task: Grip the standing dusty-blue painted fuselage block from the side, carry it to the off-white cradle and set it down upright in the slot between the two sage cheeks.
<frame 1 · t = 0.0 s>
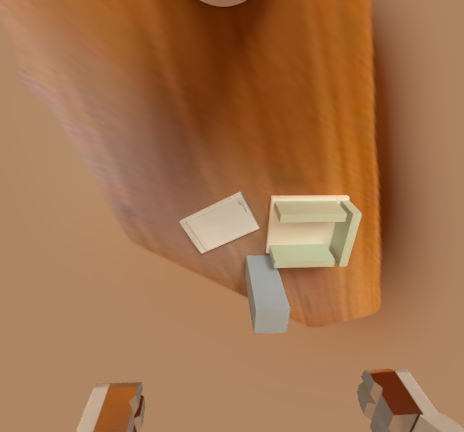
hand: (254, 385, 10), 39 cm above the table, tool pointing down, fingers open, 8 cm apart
cradle: (304, 224, 53), on the table
fuselage block: (258, 266, 58), on the table
hard drive: (220, 221, 53), on the table
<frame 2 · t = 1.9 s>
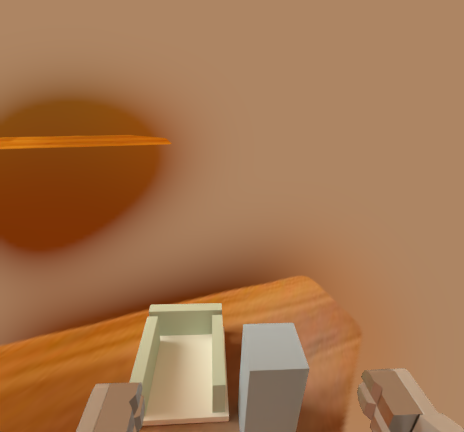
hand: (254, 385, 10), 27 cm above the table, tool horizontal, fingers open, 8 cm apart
cradle: (184, 370, 40), on the table
fuselage block: (262, 428, 34), on the table
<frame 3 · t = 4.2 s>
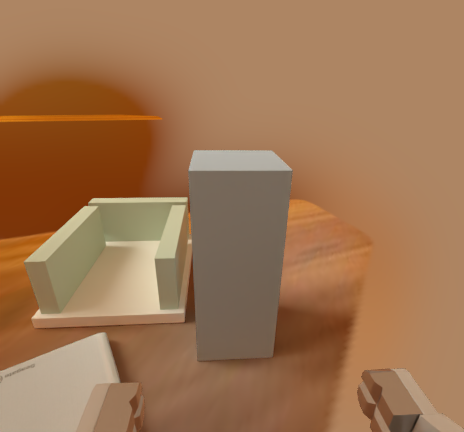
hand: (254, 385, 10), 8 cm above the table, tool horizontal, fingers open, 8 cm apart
cradle: (132, 274, 30), on the table
fuselage block: (232, 329, 23), on the table
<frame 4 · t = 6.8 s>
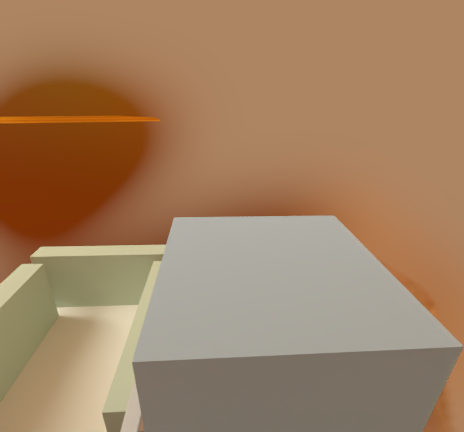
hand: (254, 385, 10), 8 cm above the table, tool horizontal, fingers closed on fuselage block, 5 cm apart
cradle: (90, 372, 19), on the table
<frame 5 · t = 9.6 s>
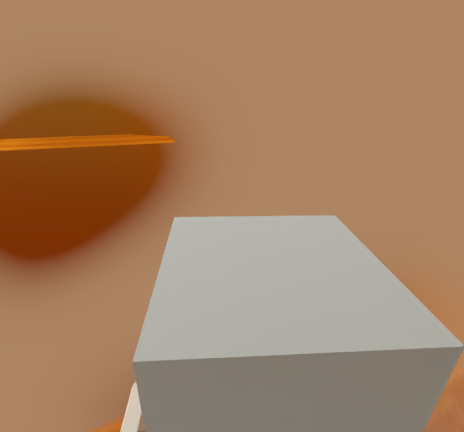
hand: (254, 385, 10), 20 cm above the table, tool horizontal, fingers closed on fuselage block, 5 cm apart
when the fingers open (10 cm above the table, at t = 12.5 s): fuselage block drops 1 cm, resting on cradle.
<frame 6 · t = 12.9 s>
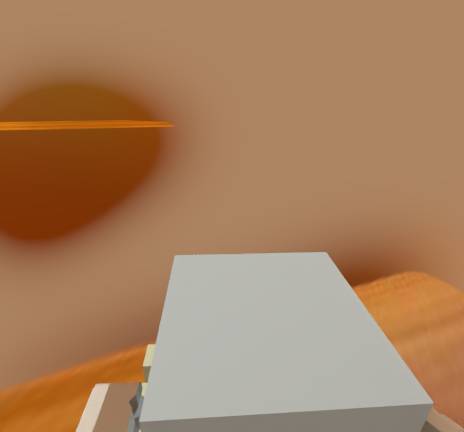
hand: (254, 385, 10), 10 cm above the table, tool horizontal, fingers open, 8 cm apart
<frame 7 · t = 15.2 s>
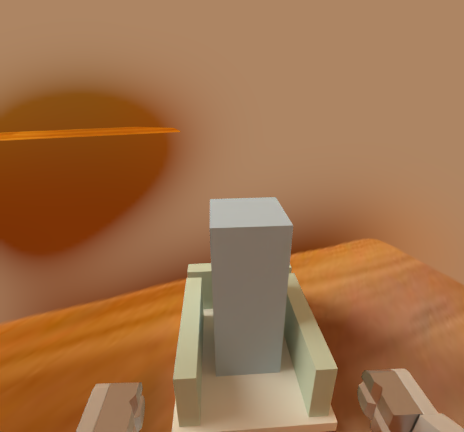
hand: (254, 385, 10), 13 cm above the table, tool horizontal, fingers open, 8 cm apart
cradle: (245, 355, 27), on the table
fuselage block: (244, 347, 27), point 1 cm above the table, touching cradle
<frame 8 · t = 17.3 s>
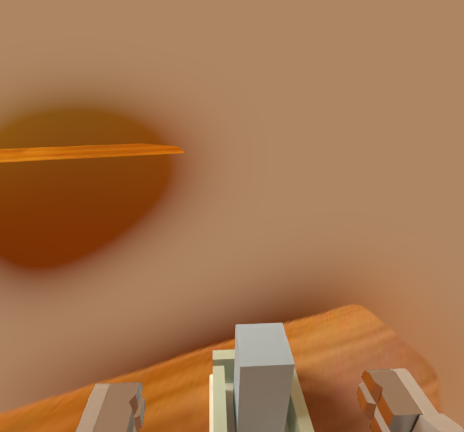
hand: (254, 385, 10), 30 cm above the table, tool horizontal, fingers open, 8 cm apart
cradle: (255, 427, 37), on the table
fuselage block: (255, 422, 36), point 1 cm above the table, touching cradle
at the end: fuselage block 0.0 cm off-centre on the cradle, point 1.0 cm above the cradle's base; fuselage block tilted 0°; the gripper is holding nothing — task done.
